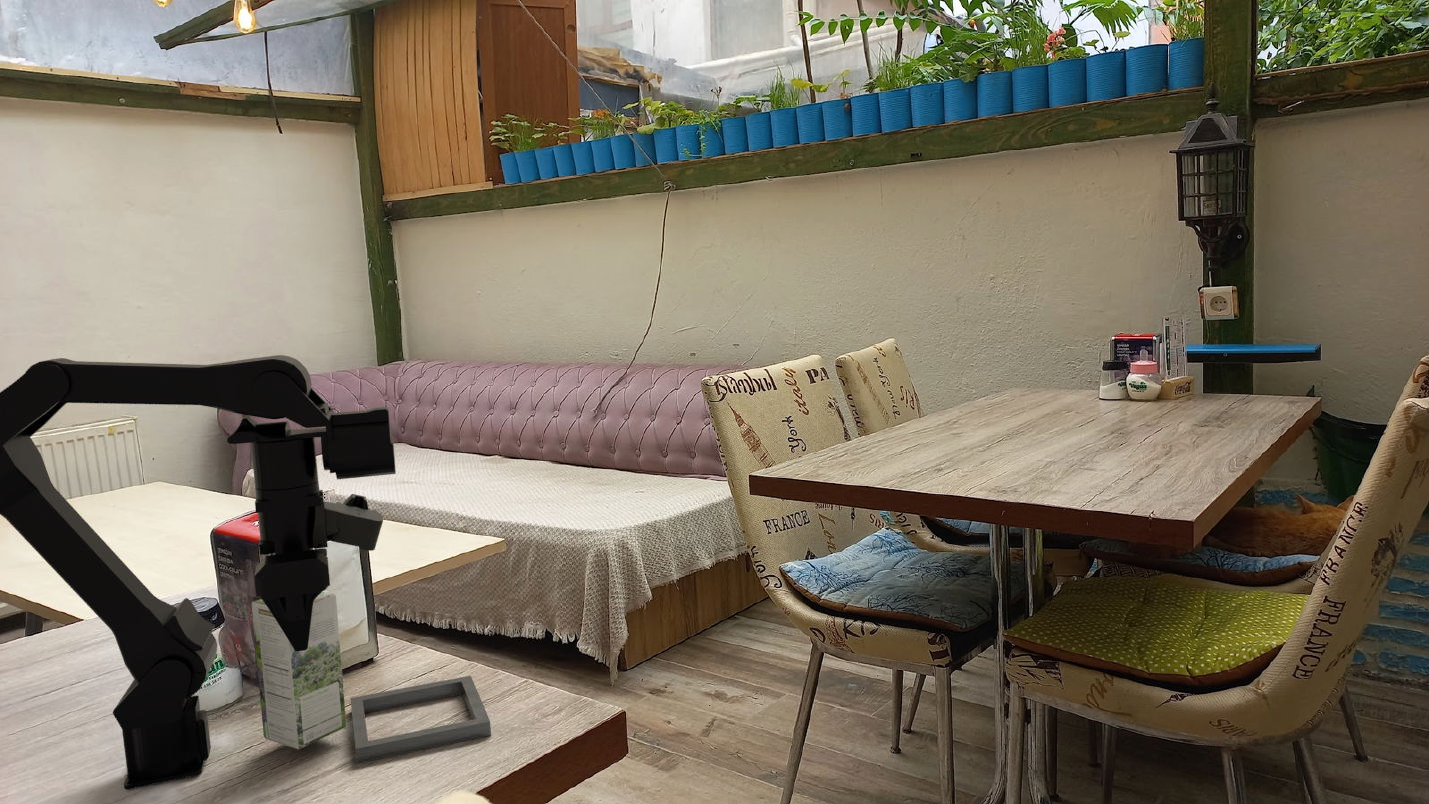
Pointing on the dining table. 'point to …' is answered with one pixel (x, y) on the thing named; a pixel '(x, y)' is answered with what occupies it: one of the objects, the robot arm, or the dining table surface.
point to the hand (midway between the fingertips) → (301, 637)
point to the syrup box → (300, 676)
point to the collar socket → (423, 737)
